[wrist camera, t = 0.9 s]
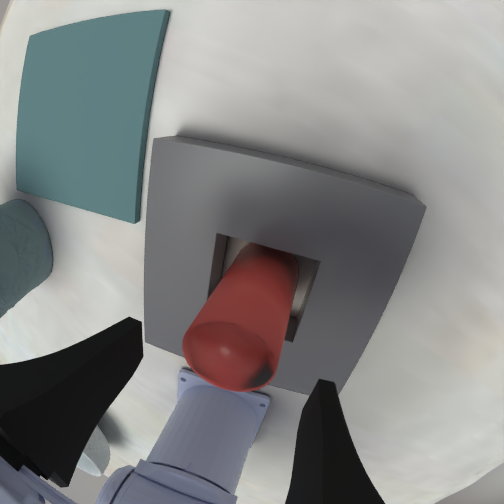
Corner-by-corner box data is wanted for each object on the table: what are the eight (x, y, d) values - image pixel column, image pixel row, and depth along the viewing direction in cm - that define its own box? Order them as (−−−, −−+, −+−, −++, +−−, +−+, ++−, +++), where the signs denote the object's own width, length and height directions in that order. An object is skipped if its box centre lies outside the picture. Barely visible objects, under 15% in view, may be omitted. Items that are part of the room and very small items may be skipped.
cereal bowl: (22, 352, 34) (-7, 379, 28) (102, 393, 31) (71, 433, 24) (60, 420, 41) (40, 445, 34) (135, 458, 37) (116, 490, 31)
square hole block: (335, 376, 21) (334, 403, 19) (160, 322, 23) (143, 344, 20) (413, 195, 15) (428, 208, 13) (175, 135, 17) (150, 139, 14)
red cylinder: (289, 306, 20) (264, 401, 12) (230, 289, 20) (180, 373, 13) (306, 251, 18) (288, 337, 11) (240, 233, 18) (184, 305, 11)
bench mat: (139, 221, 20) (134, 223, 19) (21, 188, 22) (16, 190, 21) (169, 12, 14) (165, 9, 13) (34, 36, 16) (29, 36, 15)
